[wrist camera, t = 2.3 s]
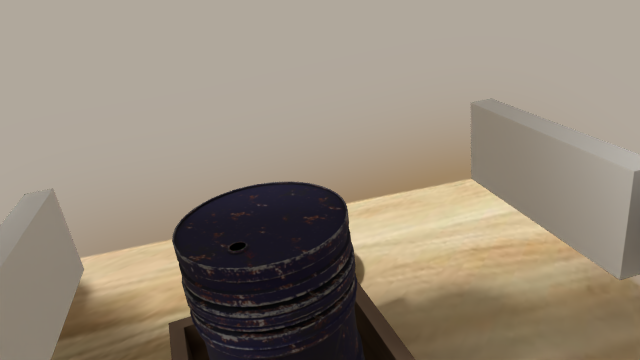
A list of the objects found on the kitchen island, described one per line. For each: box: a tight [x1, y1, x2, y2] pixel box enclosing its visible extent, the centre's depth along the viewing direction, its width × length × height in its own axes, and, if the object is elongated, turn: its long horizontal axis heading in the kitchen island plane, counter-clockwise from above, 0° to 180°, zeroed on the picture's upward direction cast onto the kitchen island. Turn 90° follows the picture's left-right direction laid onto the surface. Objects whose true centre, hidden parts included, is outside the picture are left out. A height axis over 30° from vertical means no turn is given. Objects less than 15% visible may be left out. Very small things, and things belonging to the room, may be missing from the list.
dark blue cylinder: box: [172, 182, 365, 360], centre depth 30 cm, size 10×10×15 cm
